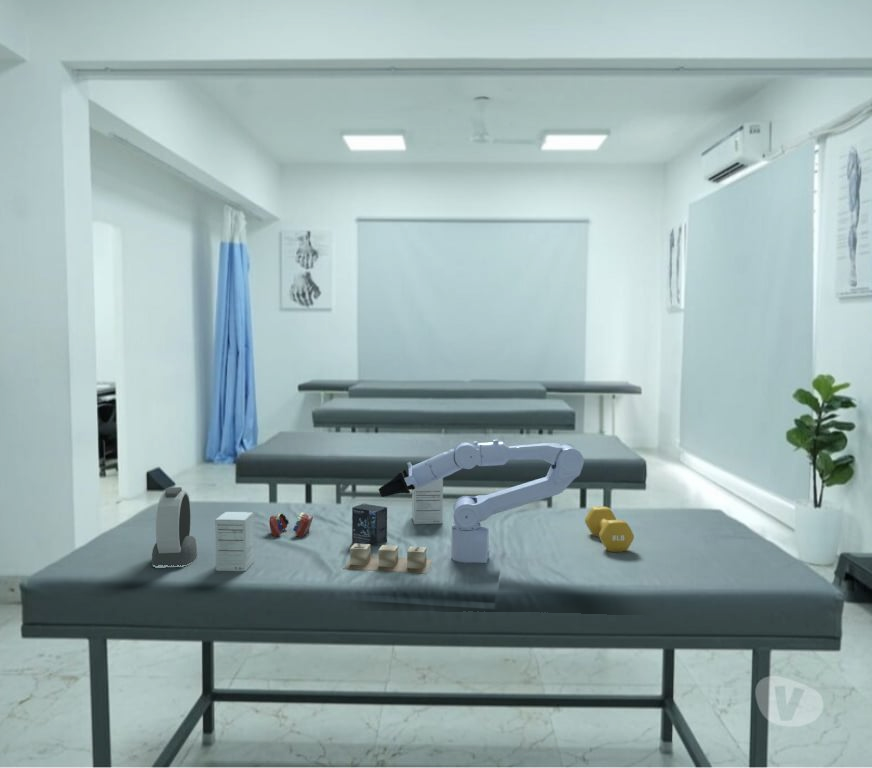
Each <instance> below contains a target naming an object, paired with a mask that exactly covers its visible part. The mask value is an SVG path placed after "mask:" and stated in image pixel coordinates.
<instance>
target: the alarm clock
mask: <svg viewBox="0 0 872 768" xmlns="http://www.w3.org/2000/svg"><path fill="white" fill-rule="evenodd" d="M191 507H192V506H191V501H190V494H189V493H188V491H186V490H185V489H184V490H183V488H182V487H181V486H180V487H179V486H173V487H172V486H171V487H167V488H166V489H165V491H163V492H162V493H161V495H160V497H159V500H158V505H157V511H156V522H155V539H156V543H155V544H154V546H153V548H152V553H151V565H152V564H153V565H155V566H158V565H163V566H164V565H168V566H171V565H172V566H173V565H174V566H177V565H179V566H180V565H181V566H182V565H187V564H189V563H191V562H193V561H194V560H195V559H196V560H197V558H196V557H198V549H197V541H196V540H197V539H196V538H195V536H193V535H191V529H192V528H191V525H192V509H191ZM196 560H195V561H196ZM195 561H194V562H195ZM194 562H193V563H194Z"/></svg>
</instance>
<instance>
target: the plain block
mask: <svg viewBox="0 0 872 768" xmlns="http://www.w3.org/2000/svg"><path fill="white" fill-rule="evenodd" d="M378 557H379V566H384V567H395V566H396V565H397V563H398V558H399V545H394V544H393V545H392V544H391V545H389V544H381V546H379V549H378Z"/></svg>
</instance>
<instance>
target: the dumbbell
mask: <svg viewBox="0 0 872 768" xmlns="http://www.w3.org/2000/svg"><path fill="white" fill-rule="evenodd" d="M584 522H585V525H586V527H587V529H588V530H589V532H590V533H591V534H592V535H593V536H595V537H599V539H600V541H601V543H602V545H603V546H604V548H605V549H606V550H607V551H608V552H610V553H624V552H623V551H625V552H627V551H628V550H629V548H630V546H631V545H632V543H633V541H634V539H635V536H634V533H633V530H632V529H631V527H630V526H629V524H628V523H627V521H625V520H621V519H617V518H616V516H615V514H614V512H613V511H612V510H611V508H609V507H608V506H593V507H591V508H590V510H589V511H588V512H587V515H586V517H585V519H584Z"/></svg>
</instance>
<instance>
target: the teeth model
mask: <svg viewBox="0 0 872 768" xmlns="http://www.w3.org/2000/svg"><path fill="white" fill-rule="evenodd" d="M313 519H314V516H313V515H309V514H307V513H306V512H303V511H302V512H300V513H299V515H298V517H297V521H296V523H295V525H294V526H293V529H292V530H293V532H294V533H295V535H296V536H297V537H299V538H303V537H304V536H305V535H306V534H307V532H309V530H310V528H311V525H312V522H313ZM289 524H290V522H289V520H288V518H287V516H286V514H285V515H284V513H278V514H276V515H271V516H270V517H269V528H270V532H271V535H272V537H273V538H275V537H278V536H280V535H281V534H282V533H283V530H285V529H287V528H288V525H289Z"/></svg>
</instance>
